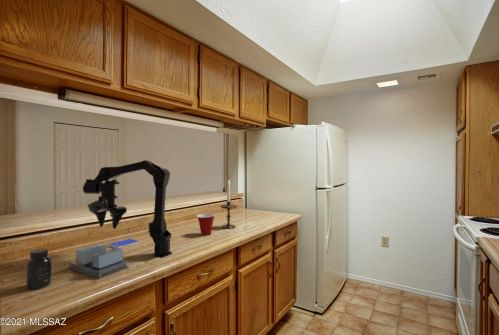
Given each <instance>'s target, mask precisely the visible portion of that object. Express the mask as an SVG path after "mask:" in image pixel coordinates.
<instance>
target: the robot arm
mask: <svg viewBox="0 0 499 335" xmlns="http://www.w3.org/2000/svg"><path fill="white" fill-rule="evenodd" d="M142 170H144V171H146V173H147V174H149V175H151V176H152V181H153V184H154V187H155V195H154V210H153V213H154V214H153V220H152V221H150V222H149V223H148V230H147V233H148V234H149V236H150V238H151V240H152V242H153V243H154V248H153V249H154V251H153V252H154V253H152V256H155V257H156V256H157V257H159V258H164V257H167V256H169V255H172V254H173V251H171V238H172V236H173V234H172V233H171V232H170V231H169V230H168V228H167V222H166V219H165V210H166V208H165V207H166V191H167V190H166V189H167V186H168V184H169V182H170V177H171V172H170V171H169V169H167V168H163V167H161V166H159V165H157V164H155V163H154V162H152V161H151V160H147V159H145V160H141V161H138V162H133V163H130V164H124V165H119V166H104V167H101V168H99V171H98V173H97V175H96V176H95V178H94V179H91V178H87V179H85V182H84V184H83V186H82V190H83V193H84V194H85V195H86V194H87V195H88V194H90V195H91V194H92V195H94V194H95V195H99V194H100V195H99V196H98V199H97V200H95V201H93V202H91V203H89V204H87V207H88V210H89V212H90V213H91V214H93V215H95V216H96V219H97V222H98V224H99V226H100V227H104V224H105V219H106V217H107V212H109V213H110V214H109V216H110V217H111V219H112V220H111V222H112V229H116V228H117V226H118V225H119V223H120V221H121V219H122V217H123V216H124V215H126V214H125V213H127V211H128V210H127V207H126V206H122V205H119V206H118V204H116V199H118V196H117V195H116V185H120V181H118V180H117V178H119V177H120V176H123V175H125V174H129V173H134V172H139V171H142Z"/></svg>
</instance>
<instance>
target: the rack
mask: <svg viewBox="0 0 499 335" xmlns="http://www.w3.org/2000/svg"><path fill="white" fill-rule="evenodd" d="M127 262H128V261H127V260H125V261H124V249H123V248H122V247H121V248H117V247H116V248H110V249H106V251H103V252H99V253H96V254H92V262H90V263H86V264H83V265H80V263H77V262H76V260H75V261H68V267H67V269H68V270H71V271H74V272H77V273H79V274H83V275H87V276H89V277H93V278H95V279H98V280H100V279H102V278H105V277H108V276H110V275H113V274H117V273H119V272H122V271H124V270H126V269H129V268H130V266H128V264H127Z"/></svg>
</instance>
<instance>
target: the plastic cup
mask: <svg viewBox="0 0 499 335" xmlns="http://www.w3.org/2000/svg"><path fill="white" fill-rule="evenodd" d="M215 216H216V214H215V213H214V212H213V213H212V212H207V213H201V214H197V215H196V217H197V220H198V223H199V230H200V234H201V236H211V235H212V231H213V225H214V224H213V223H214V218H215Z"/></svg>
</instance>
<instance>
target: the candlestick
mask: <svg viewBox="0 0 499 335" xmlns="http://www.w3.org/2000/svg"><path fill="white" fill-rule="evenodd" d="M227 178H228V180H227V184H226V187H227V188H226V189H227V192H226V193H227V197H226V198H227V200H226V204H222V205H220V207H219V208H221V209H226V210H227V215H226V218H227V219H226V221H227V222H226V224H223V225H221V228H222V229H225V230H232V229H235V228H236V225H235V224H231V223H230V221H231V219H230V218H231V215H230V214H231V213H230V210H232V209H236V208H238V205H236V204H231V181H230V175H228V176H227Z"/></svg>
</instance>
